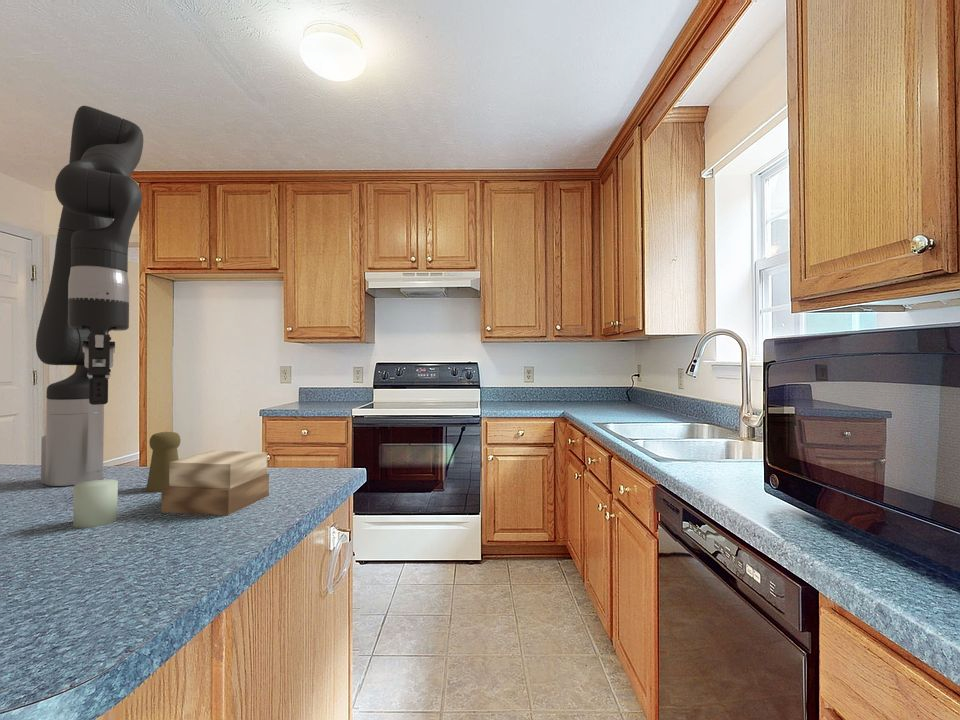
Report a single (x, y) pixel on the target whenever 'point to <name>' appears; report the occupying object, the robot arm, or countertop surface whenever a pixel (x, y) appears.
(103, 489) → the pale green cylinder
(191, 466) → the tower top
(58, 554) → the countertop surface
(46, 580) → the countertop surface
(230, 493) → the tower base
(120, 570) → the countertop surface
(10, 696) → the countertop surface
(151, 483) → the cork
